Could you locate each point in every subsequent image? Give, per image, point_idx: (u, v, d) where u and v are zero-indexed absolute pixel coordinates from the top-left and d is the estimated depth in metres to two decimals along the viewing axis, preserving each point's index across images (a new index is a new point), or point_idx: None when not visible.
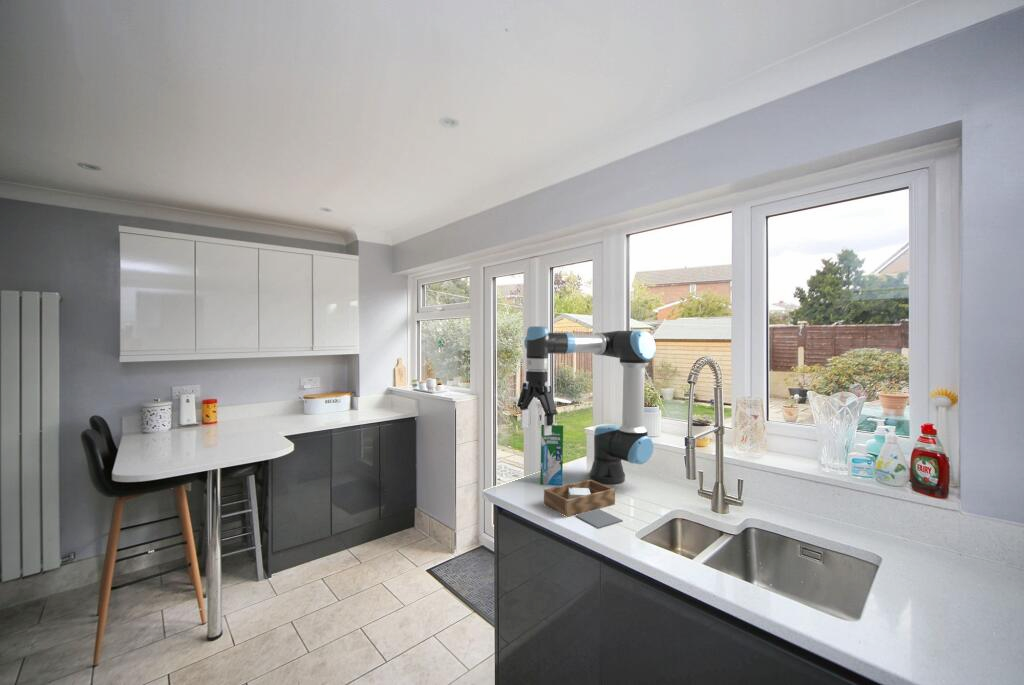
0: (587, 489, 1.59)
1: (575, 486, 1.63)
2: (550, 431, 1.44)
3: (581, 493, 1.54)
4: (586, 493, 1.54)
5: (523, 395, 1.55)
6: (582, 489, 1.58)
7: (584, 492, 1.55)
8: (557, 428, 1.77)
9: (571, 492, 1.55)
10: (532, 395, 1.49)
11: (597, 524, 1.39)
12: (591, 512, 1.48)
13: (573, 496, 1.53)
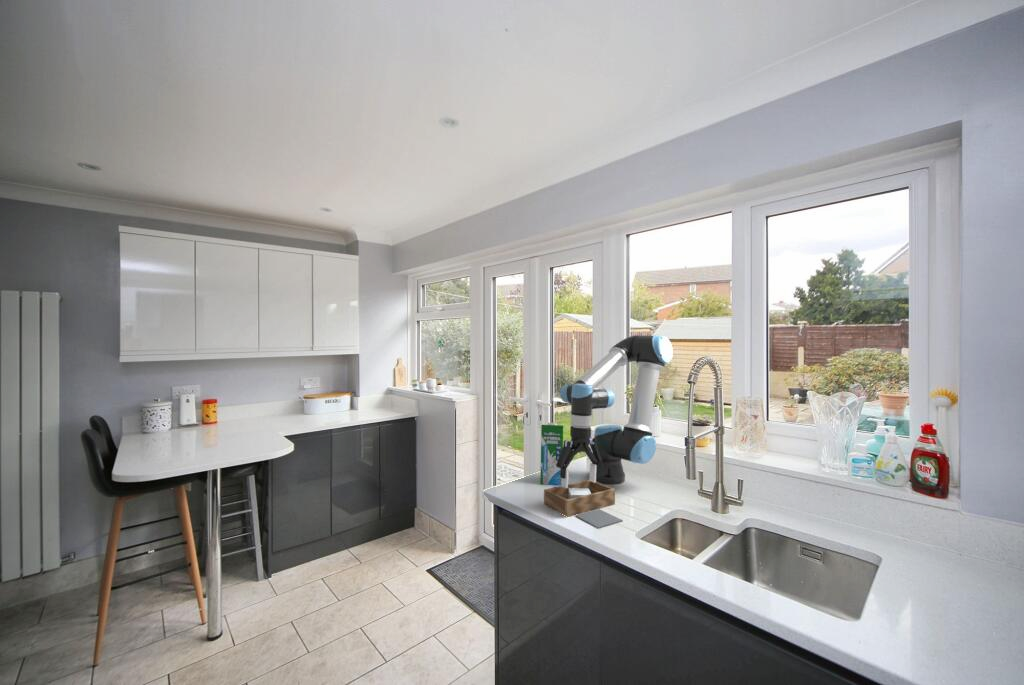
0: (587, 489, 1.59)
1: (575, 486, 1.63)
2: (565, 484, 1.52)
3: (581, 493, 1.54)
4: (586, 493, 1.54)
5: (592, 449, 1.61)
6: (582, 489, 1.58)
7: (585, 493, 1.55)
8: (557, 428, 1.77)
9: (571, 492, 1.55)
10: None
11: (597, 524, 1.39)
12: (591, 512, 1.48)
13: (573, 496, 1.53)
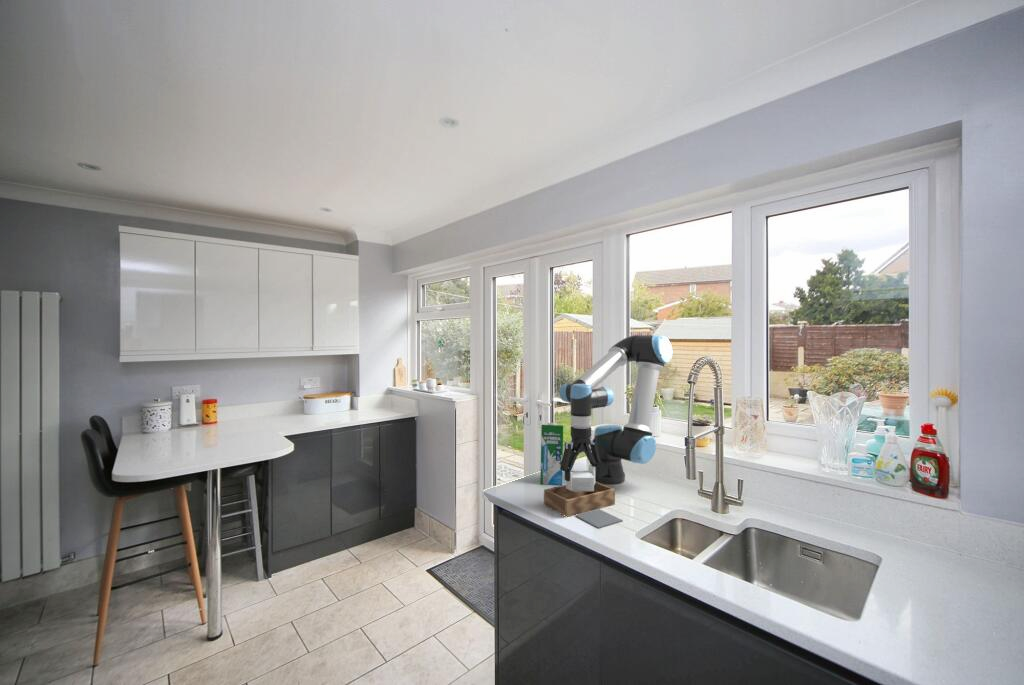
0: (588, 472, 1.59)
1: None
2: (570, 487, 1.53)
3: (583, 476, 1.54)
4: (588, 476, 1.55)
5: (592, 450, 1.61)
6: (583, 472, 1.58)
7: (586, 475, 1.55)
8: (557, 428, 1.77)
9: (573, 475, 1.55)
10: None
11: (597, 524, 1.39)
12: (591, 512, 1.48)
13: (576, 479, 1.53)
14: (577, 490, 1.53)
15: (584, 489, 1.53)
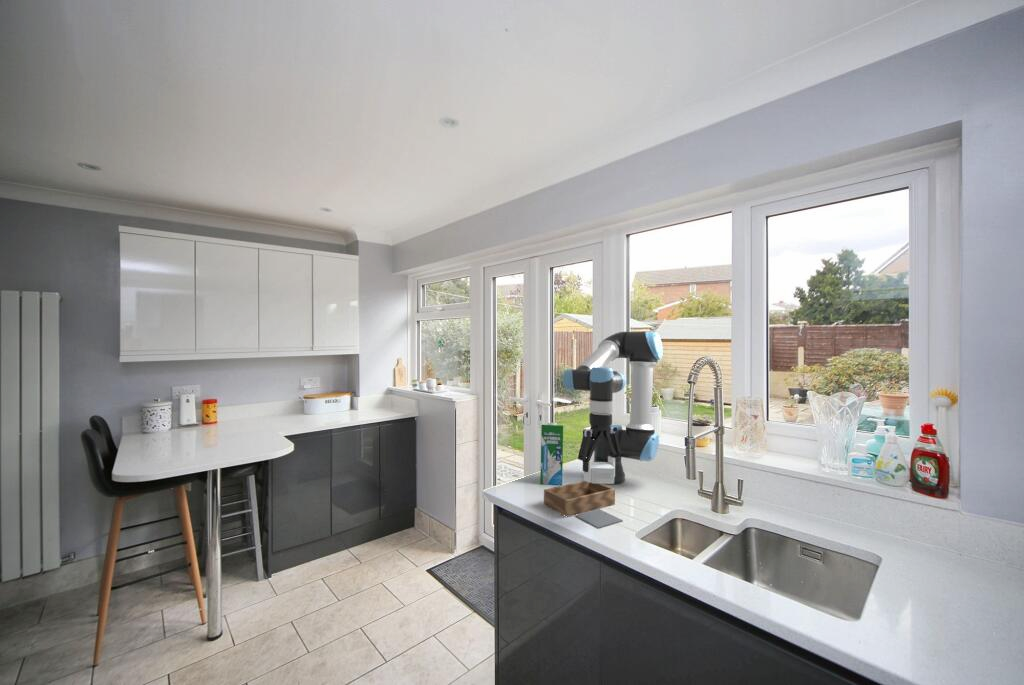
0: (608, 463, 1.46)
1: (575, 486, 1.63)
2: (588, 478, 1.40)
3: (603, 467, 1.41)
4: (608, 467, 1.42)
5: (611, 440, 1.48)
6: (602, 463, 1.45)
7: (606, 466, 1.42)
8: (557, 428, 1.77)
9: (592, 466, 1.42)
10: None
11: (597, 524, 1.39)
12: (591, 512, 1.48)
13: (594, 469, 1.40)
14: (596, 482, 1.40)
15: (603, 481, 1.40)
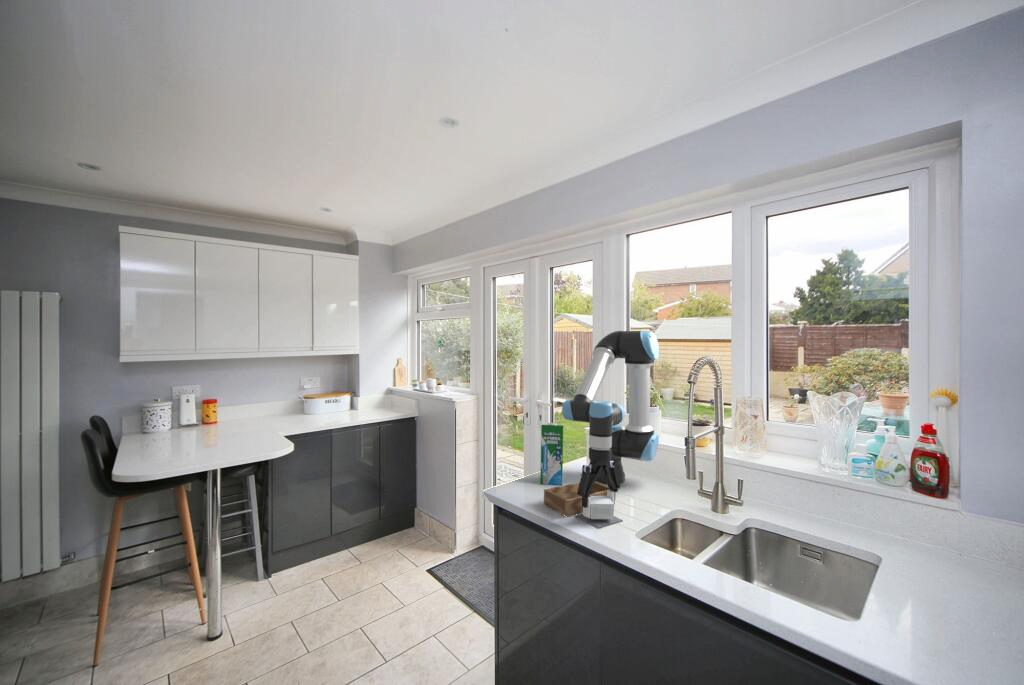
0: (607, 497, 1.46)
1: (575, 486, 1.63)
2: (587, 514, 1.40)
3: (602, 502, 1.41)
4: (607, 502, 1.42)
5: (611, 473, 1.48)
6: (601, 497, 1.45)
7: (605, 501, 1.42)
8: (557, 428, 1.77)
9: (591, 501, 1.42)
10: None
11: (597, 524, 1.39)
12: None
13: (594, 505, 1.40)
14: (595, 517, 1.40)
15: (603, 516, 1.40)
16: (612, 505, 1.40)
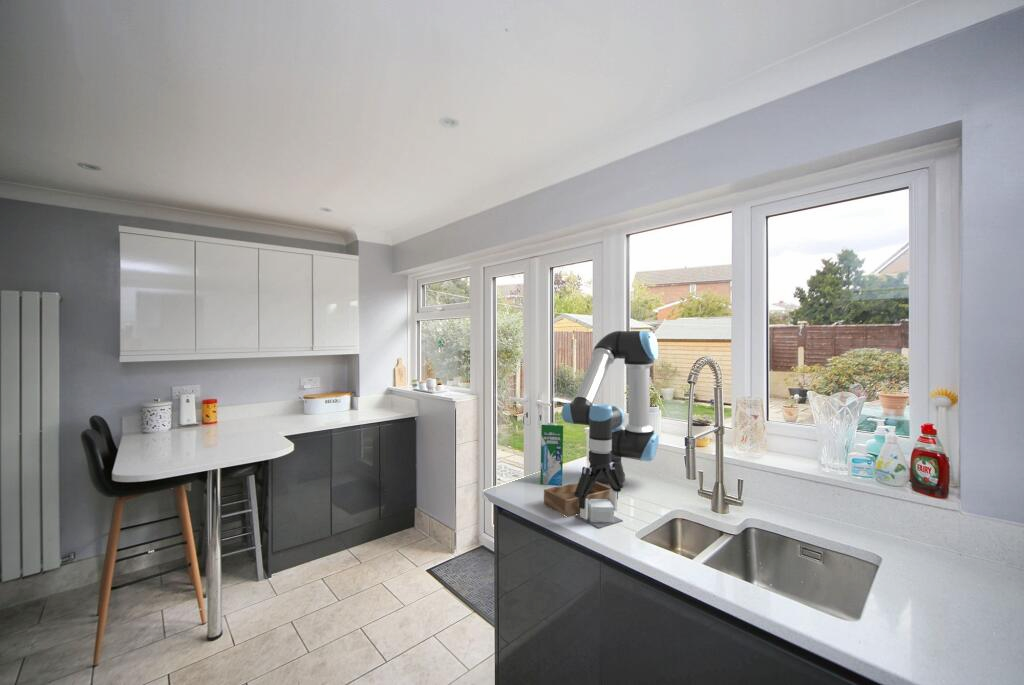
0: (607, 500, 1.46)
1: (575, 486, 1.63)
2: (584, 515, 1.39)
3: (602, 505, 1.41)
4: (607, 505, 1.42)
5: (612, 475, 1.48)
6: (601, 500, 1.46)
7: (605, 504, 1.42)
8: (557, 428, 1.77)
9: (591, 504, 1.42)
10: None
11: (597, 524, 1.39)
12: None
13: (594, 508, 1.40)
14: (595, 521, 1.40)
15: (603, 520, 1.40)
16: (612, 508, 1.40)
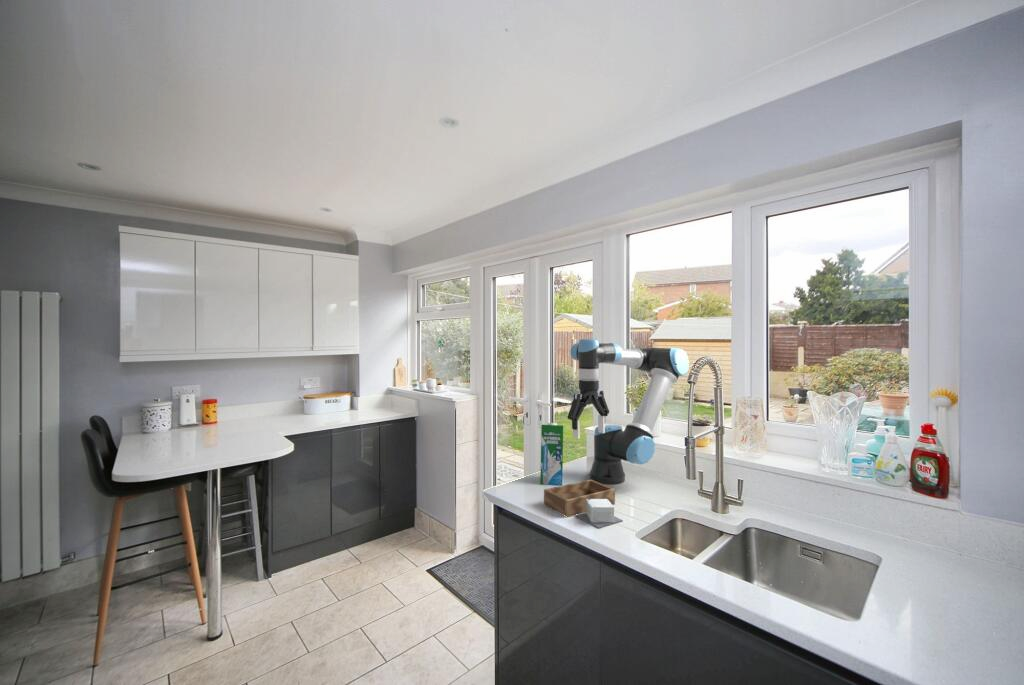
0: (607, 500, 1.46)
1: (575, 486, 1.63)
2: (577, 435, 1.58)
3: (602, 505, 1.41)
4: (608, 505, 1.42)
5: (600, 402, 1.67)
6: (601, 500, 1.46)
7: (606, 504, 1.42)
8: (557, 428, 1.77)
9: (591, 504, 1.42)
10: None
11: (597, 524, 1.39)
12: None
13: (595, 508, 1.40)
14: (596, 521, 1.40)
15: (603, 520, 1.40)
16: (612, 508, 1.40)
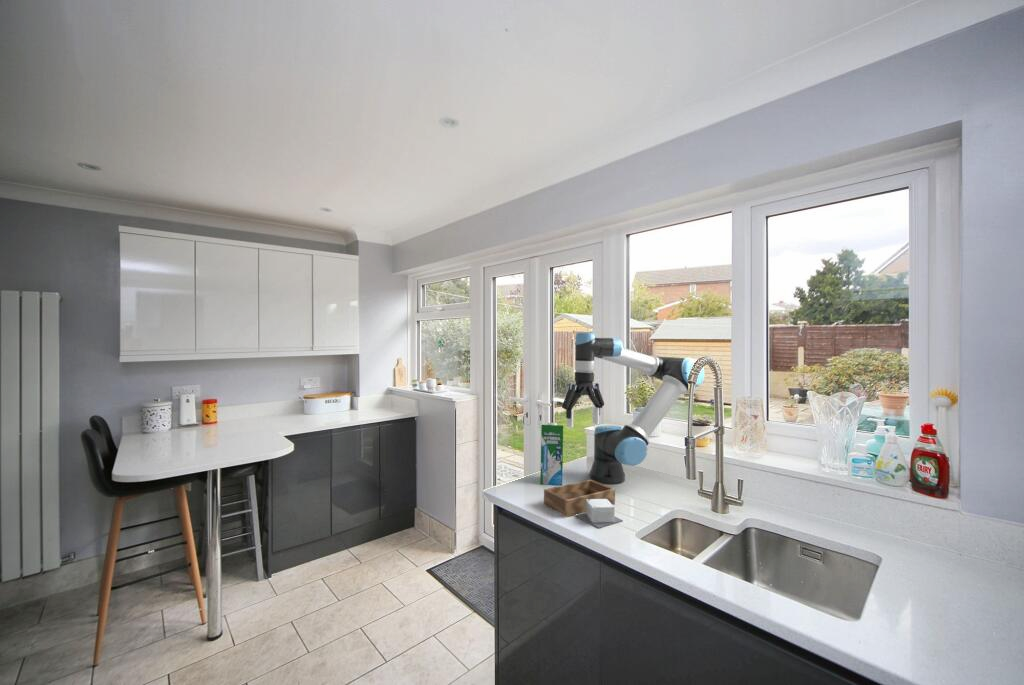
0: (606, 500, 1.46)
1: (575, 486, 1.63)
2: (571, 424, 1.64)
3: (603, 505, 1.41)
4: (608, 505, 1.42)
5: (595, 394, 1.73)
6: (601, 500, 1.46)
7: (606, 504, 1.42)
8: (557, 428, 1.77)
9: (592, 505, 1.42)
10: None
11: (597, 524, 1.39)
12: None
13: (595, 509, 1.40)
14: (596, 521, 1.40)
15: (604, 520, 1.40)
16: (613, 508, 1.40)
